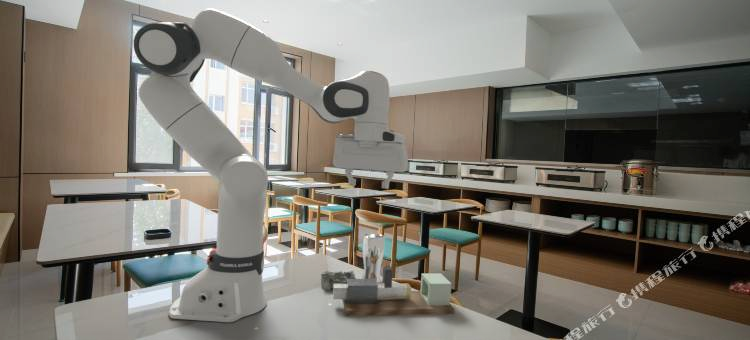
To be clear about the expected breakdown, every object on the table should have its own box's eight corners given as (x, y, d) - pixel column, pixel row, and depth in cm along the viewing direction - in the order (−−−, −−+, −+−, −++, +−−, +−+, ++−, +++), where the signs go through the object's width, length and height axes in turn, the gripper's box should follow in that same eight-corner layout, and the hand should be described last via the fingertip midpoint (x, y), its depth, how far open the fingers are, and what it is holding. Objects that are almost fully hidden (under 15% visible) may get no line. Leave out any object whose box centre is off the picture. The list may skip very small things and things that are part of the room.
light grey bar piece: (333, 299, 96) (335, 269, 95) (332, 294, 99) (334, 265, 98) (410, 298, 99) (412, 269, 99) (407, 294, 102) (409, 265, 102)
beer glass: (379, 286, 113) (382, 239, 113) (358, 283, 115) (361, 236, 114) (383, 279, 120) (386, 234, 119) (363, 276, 122) (366, 232, 121)
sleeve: (346, 304, 96) (347, 285, 95) (345, 296, 100) (346, 278, 100) (376, 303, 97) (377, 285, 97) (373, 296, 102) (374, 278, 102)
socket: (428, 311, 98) (430, 283, 98) (419, 298, 106) (421, 273, 105) (449, 310, 99) (451, 283, 99) (439, 298, 107) (441, 273, 106)
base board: (345, 316, 92) (346, 310, 92) (341, 296, 104) (342, 291, 104) (454, 313, 97) (454, 308, 97) (438, 295, 109) (439, 290, 109)
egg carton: (320, 290, 108) (321, 277, 108) (320, 281, 116) (321, 268, 115) (356, 290, 110) (356, 277, 110) (354, 281, 117) (354, 268, 117)
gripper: (330, 132, 96) (327, 184, 97) (404, 135, 90) (401, 191, 90) (340, 134, 102) (338, 183, 103) (410, 136, 96) (408, 189, 96)
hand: (368, 187), depth 97 cm, fingers open, 8 cm apart
